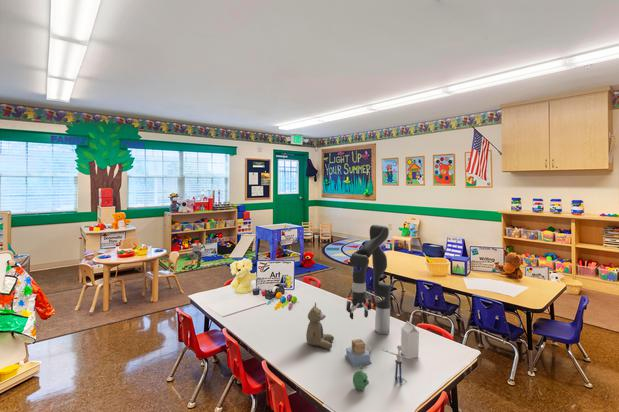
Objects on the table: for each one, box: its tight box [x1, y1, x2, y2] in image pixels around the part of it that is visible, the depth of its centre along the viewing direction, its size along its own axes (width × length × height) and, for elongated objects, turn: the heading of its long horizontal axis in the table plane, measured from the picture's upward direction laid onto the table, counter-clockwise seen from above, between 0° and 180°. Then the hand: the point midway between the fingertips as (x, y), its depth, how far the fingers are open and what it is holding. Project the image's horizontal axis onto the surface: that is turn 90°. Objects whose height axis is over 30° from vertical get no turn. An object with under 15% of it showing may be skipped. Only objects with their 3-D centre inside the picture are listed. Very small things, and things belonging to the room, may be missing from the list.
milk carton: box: [400, 320, 420, 359], centre depth 183 cm, size 7×7×19 cm
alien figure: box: [380, 344, 418, 385], centre depth 158 cm, size 20×5×19 cm, turn 55°
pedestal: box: [344, 346, 373, 368], centre depth 178 cm, size 11×11×5 cm
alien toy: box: [352, 365, 370, 391], centre depth 152 cm, size 7×8×10 cm
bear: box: [305, 301, 335, 350], centre depth 195 cm, size 21×16×25 cm
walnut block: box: [351, 338, 366, 354], centre depth 178 cm, size 6×6×6 cm
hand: (358, 318), depth 177 cm, fingers open, 8 cm apart
